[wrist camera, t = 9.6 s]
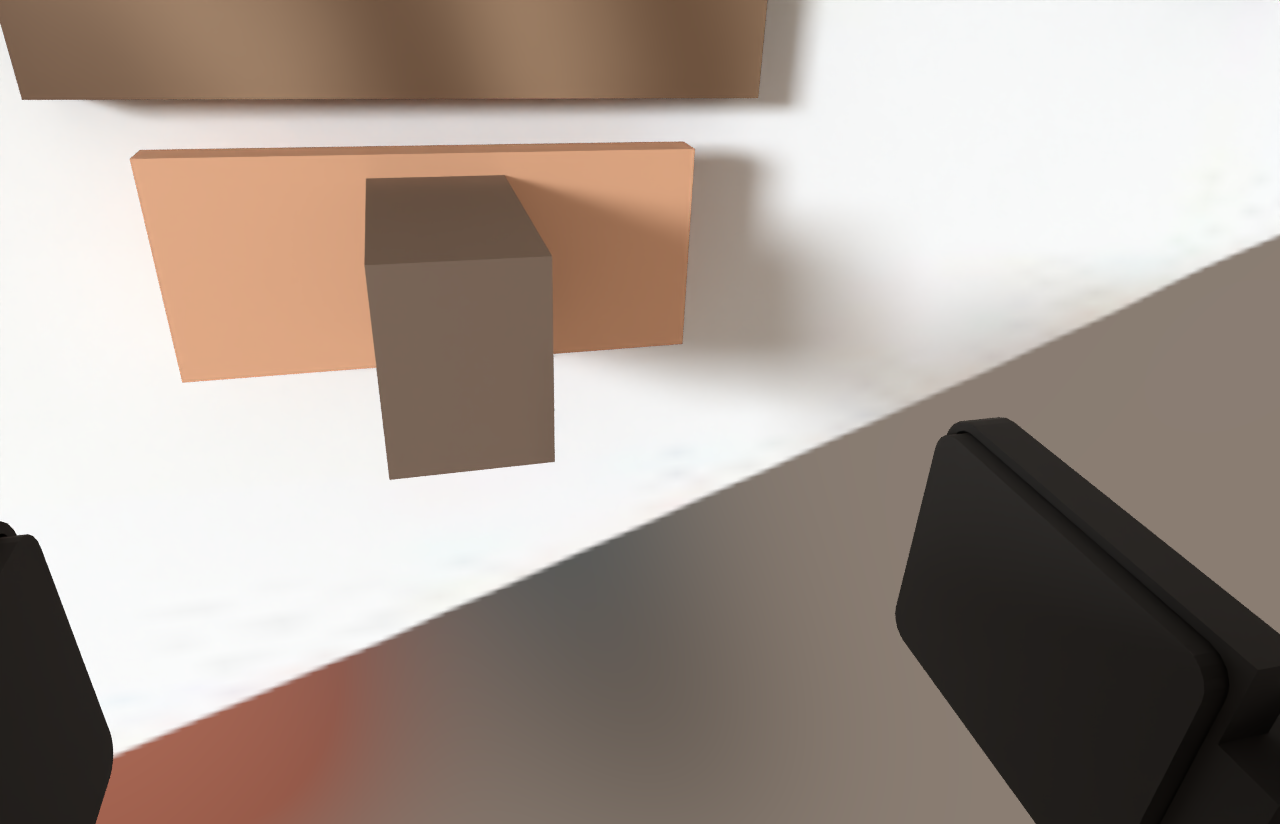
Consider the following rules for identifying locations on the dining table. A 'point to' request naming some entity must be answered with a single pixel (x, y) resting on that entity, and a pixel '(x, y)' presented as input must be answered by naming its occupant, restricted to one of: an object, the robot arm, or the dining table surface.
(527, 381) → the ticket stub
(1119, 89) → the dining table surface
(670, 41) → the board
